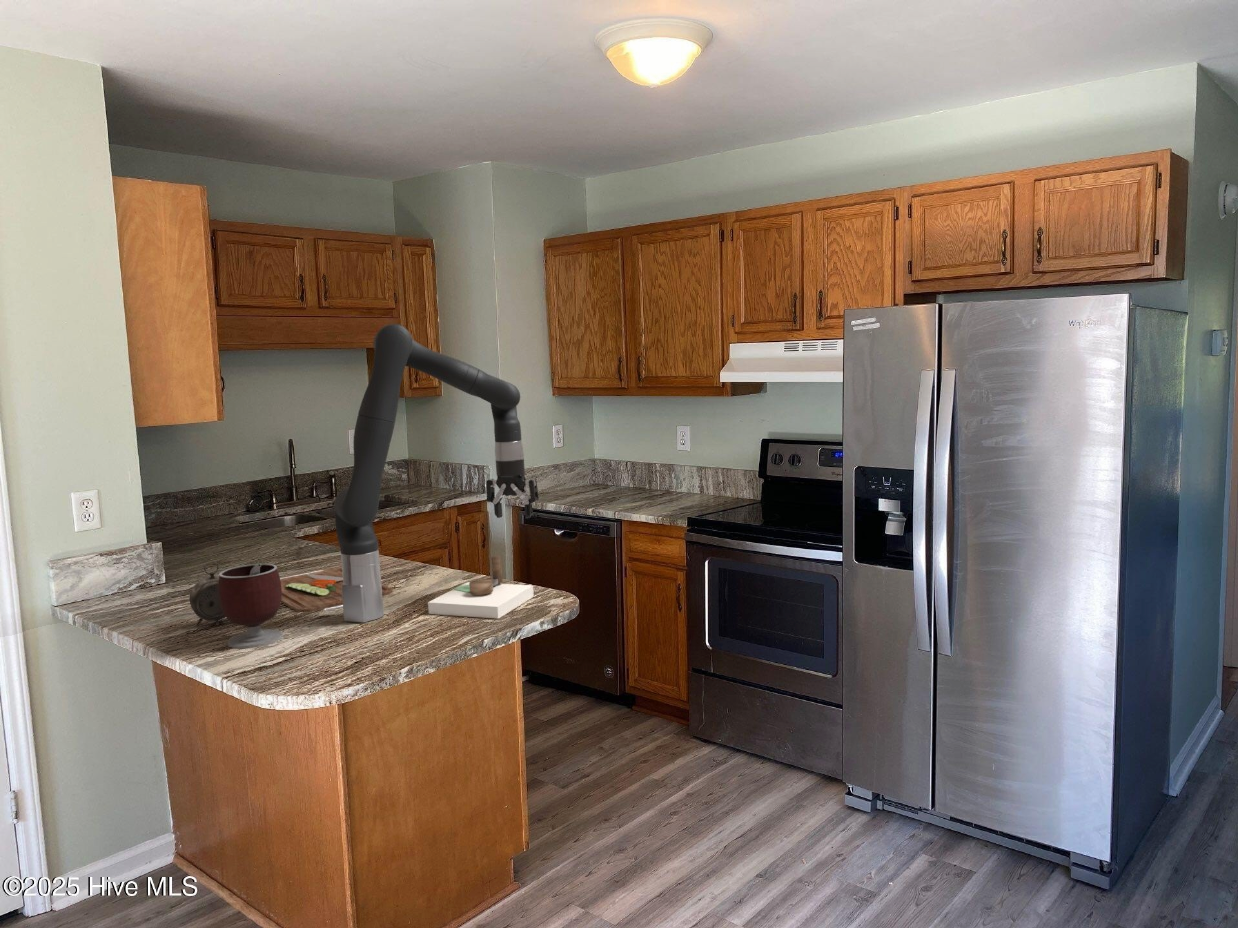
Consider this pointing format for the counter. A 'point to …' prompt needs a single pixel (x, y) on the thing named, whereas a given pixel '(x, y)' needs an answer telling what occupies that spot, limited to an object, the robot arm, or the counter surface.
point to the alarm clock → (207, 599)
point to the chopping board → (316, 590)
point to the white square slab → (481, 601)
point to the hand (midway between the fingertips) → (513, 517)
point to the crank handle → (487, 585)
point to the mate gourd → (251, 602)
